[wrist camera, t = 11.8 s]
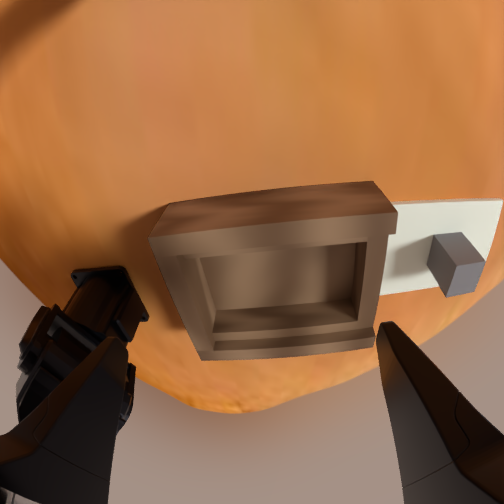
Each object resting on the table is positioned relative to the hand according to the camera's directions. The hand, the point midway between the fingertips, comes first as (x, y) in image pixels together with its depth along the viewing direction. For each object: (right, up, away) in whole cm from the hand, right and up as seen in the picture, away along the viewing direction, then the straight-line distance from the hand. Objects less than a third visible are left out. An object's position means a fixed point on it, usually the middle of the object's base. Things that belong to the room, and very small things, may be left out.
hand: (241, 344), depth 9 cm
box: (+2, +2, +13) cm, 13 cm away
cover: (+16, +4, +12) cm, 20 cm away
